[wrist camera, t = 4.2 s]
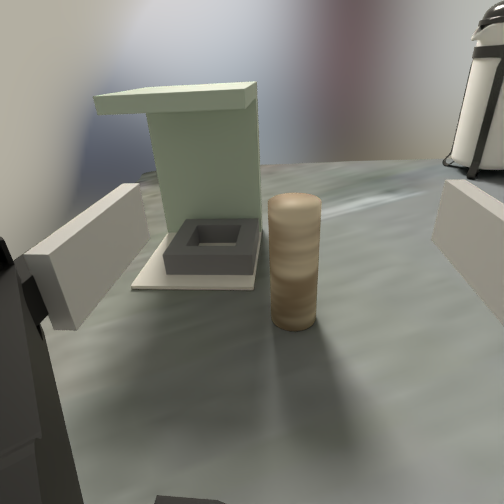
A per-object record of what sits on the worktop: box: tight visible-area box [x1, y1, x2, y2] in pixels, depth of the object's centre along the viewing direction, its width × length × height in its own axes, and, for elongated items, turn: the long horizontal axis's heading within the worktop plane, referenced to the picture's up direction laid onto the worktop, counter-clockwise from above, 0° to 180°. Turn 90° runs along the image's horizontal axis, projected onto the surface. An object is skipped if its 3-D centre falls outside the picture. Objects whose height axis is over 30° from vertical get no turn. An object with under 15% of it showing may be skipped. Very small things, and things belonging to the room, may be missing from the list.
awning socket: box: [93, 82, 262, 290], centre depth 37 cm, size 15×13×18 cm
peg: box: [268, 193, 322, 331], centre depth 28 cm, size 4×4×11 cm
